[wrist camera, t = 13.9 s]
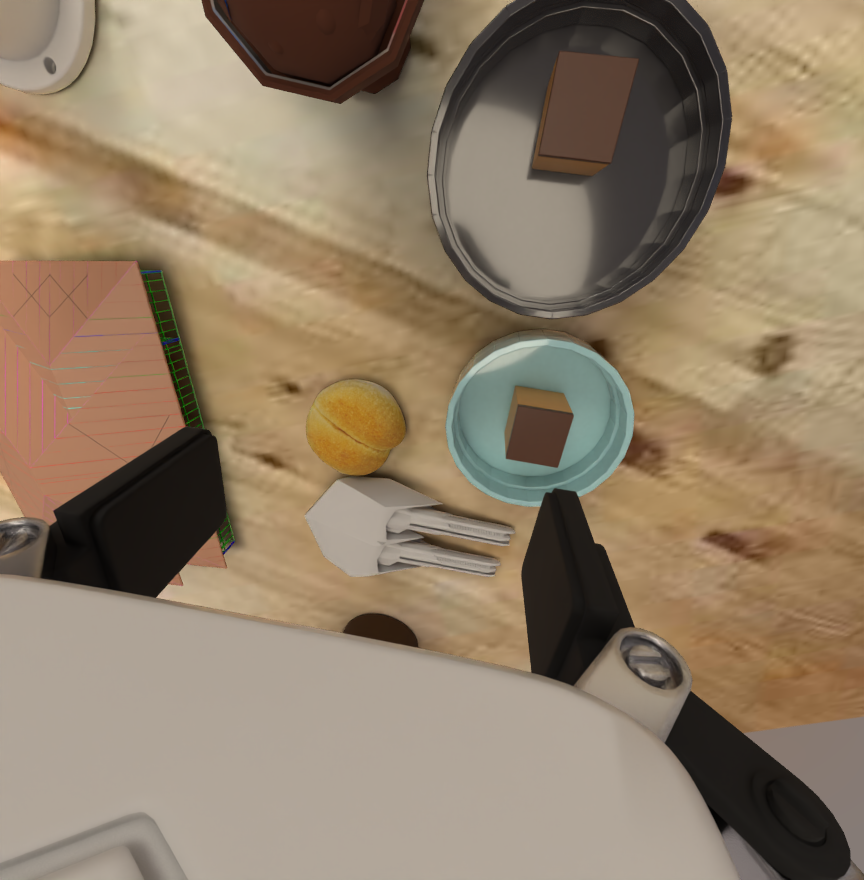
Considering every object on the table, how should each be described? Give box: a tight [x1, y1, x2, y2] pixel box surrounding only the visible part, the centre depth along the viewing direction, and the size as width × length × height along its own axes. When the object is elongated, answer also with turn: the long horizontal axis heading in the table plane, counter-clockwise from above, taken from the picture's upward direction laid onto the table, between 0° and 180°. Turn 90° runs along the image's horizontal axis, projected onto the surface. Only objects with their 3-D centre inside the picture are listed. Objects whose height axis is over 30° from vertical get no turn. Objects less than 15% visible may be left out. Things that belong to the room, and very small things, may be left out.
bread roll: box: [306, 379, 406, 475], centre depth 35 cm, size 8×9×4 cm
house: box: [0, 261, 235, 586], centre depth 38 cm, size 23×33×8 cm
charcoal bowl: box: [427, 0, 732, 319], centre depth 25 cm, size 17×17×4 cm
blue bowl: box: [445, 329, 634, 507], centre depth 33 cm, size 14×14×4 cm
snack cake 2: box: [532, 51, 639, 176], centre depth 23 cm, size 4×4×5 cm
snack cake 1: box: [504, 386, 574, 468], centre depth 32 cm, size 4×4×5 cm
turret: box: [305, 476, 515, 577], centre depth 40 cm, size 10×20×5 cm, turn 75°
